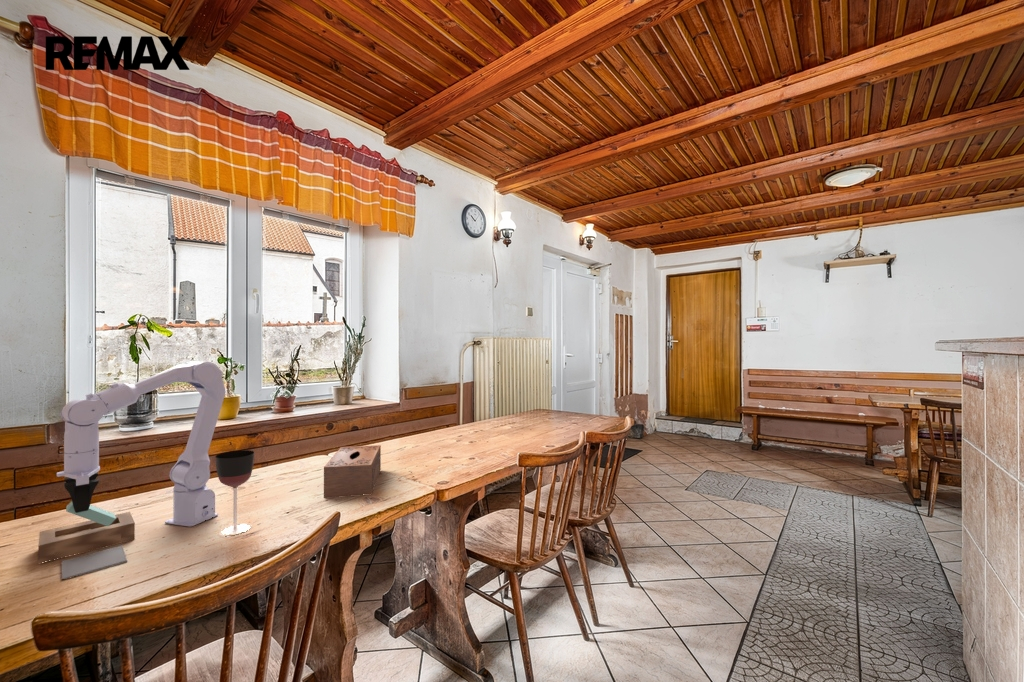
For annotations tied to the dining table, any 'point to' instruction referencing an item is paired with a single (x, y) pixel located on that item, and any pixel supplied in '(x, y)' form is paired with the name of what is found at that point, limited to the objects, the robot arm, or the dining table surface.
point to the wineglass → (235, 479)
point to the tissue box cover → (352, 471)
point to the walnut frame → (84, 537)
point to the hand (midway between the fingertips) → (81, 508)
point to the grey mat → (93, 562)
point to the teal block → (94, 514)
